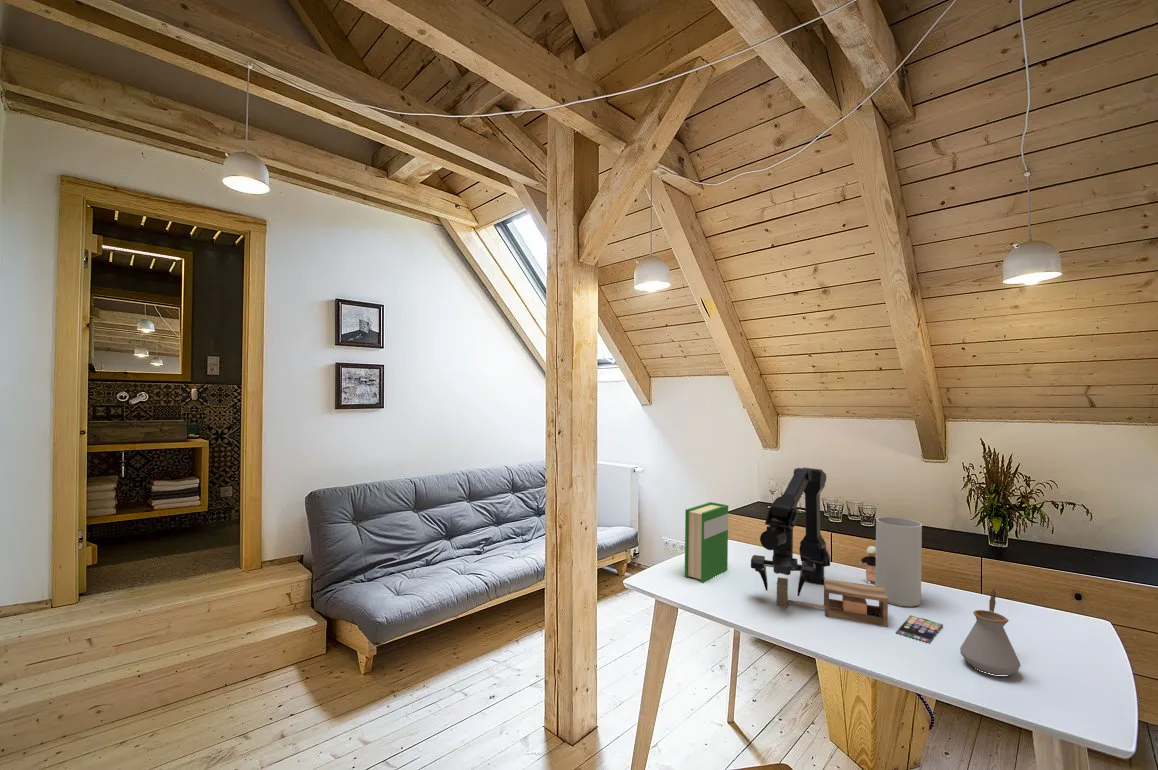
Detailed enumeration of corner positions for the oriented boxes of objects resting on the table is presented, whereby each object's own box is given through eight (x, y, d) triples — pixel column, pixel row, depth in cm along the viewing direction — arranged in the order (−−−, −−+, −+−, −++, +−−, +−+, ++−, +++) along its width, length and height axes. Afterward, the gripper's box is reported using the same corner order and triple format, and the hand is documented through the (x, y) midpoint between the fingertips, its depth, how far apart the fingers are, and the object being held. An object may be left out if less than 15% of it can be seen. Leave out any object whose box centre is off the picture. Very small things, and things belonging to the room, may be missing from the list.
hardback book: (703, 583, 179) (704, 513, 179) (684, 577, 184) (685, 509, 184) (727, 570, 192) (728, 505, 192) (709, 565, 197) (710, 502, 197)
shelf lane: (823, 604, 162) (824, 578, 162) (882, 613, 156) (882, 587, 156) (825, 616, 154) (825, 589, 154) (887, 626, 147) (887, 598, 147)
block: (777, 599, 166) (777, 577, 166) (864, 613, 156) (864, 589, 156) (776, 606, 161) (776, 583, 161) (866, 621, 151) (867, 597, 151)
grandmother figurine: (883, 582, 181) (883, 546, 181) (884, 586, 178) (885, 549, 178) (858, 579, 184) (858, 543, 185) (859, 582, 181) (859, 546, 181)
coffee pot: (1019, 687, 118) (1020, 621, 118) (957, 669, 125) (958, 607, 126) (1022, 652, 134) (1022, 594, 134) (966, 638, 141) (967, 582, 141)
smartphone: (895, 635, 144) (895, 630, 144) (910, 618, 154) (910, 614, 154) (929, 645, 138) (929, 641, 138) (942, 628, 148) (942, 623, 148)
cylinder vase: (878, 603, 163) (879, 524, 163) (872, 589, 175) (873, 515, 175) (925, 610, 159) (926, 528, 159) (916, 595, 170) (916, 519, 170)
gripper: (749, 546, 159) (748, 597, 159) (816, 554, 152) (815, 608, 152) (752, 536, 169) (751, 584, 169) (815, 544, 162) (814, 594, 162)
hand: (782, 593), depth 163 cm, fingers open, 9 cm apart
